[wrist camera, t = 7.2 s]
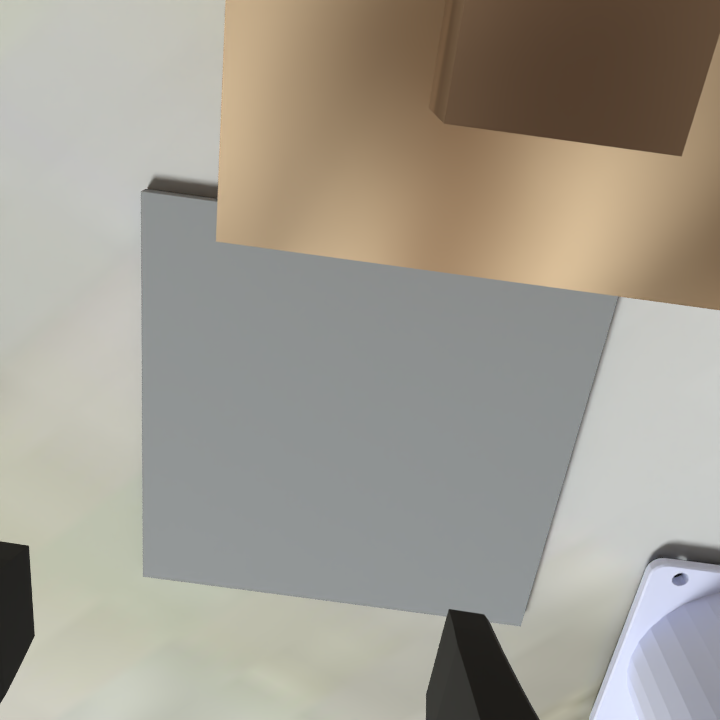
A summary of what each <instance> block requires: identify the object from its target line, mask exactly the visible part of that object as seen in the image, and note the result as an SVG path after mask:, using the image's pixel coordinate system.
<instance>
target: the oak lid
mask: <svg viewBox="0 0 720 720" xmlns="http://www.w3.org/2000/svg"><path fill="white" fill-rule="evenodd" d="M216 242H223V243H230V244H238V245H245V246H252V247H260V248H267V249H274V250H282V251H289V252H296V253H304V254H311V255H318V256H326V257H333V258H340V259H348V260H355V261H363V262H370V263H377V264H385V265H392V266H399V267H407V268H414V269H421V270H429V271H436V272H443V273H451V274H458V275H465V276H473V277H480V278H487V279H495V280H502V281H509V282H517V283H524V284H531V285H539V286H546V287H553V288H561V289H568V290H575V291H583V292H590V293H598V294H605V295H612V296H620V297H627V298H634V299H642V300H649V301H656V302H664V303H671V304H678V305H686V306H693V307H700V308H708V309H715V310H720V0H226V4H225V28H224V53H223V78H222V102H221V127H220V152H219V176H218V201H217V226H216Z"/></svg>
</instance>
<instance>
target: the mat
mask: <svg viewBox="0 0 720 720" xmlns="http://www.w3.org/2000/svg"><path fill="white" fill-rule="evenodd" d="M217 201H218V199H216V198H209V197H202V196H194V195H187V194H180V193H172V192H165V191H158V190H150V189H145V190H143V191H141V287H142V481H143V577H151V578H158V579H166V580H173V581H181V582H189V583H196V584H204V585H211V586H219V587H226V588H234V589H242V590H249V591H257V592H264V593H272V594H279V595H287V596H295V597H302V598H310V599H317V600H325V601H333V602H340V603H348V604H355V605H363V606H370V607H378V608H386V609H393V610H401V611H408V612H416V613H424V614H431V615H439V616H446V617H447V614H448V610H449V609H453V610H459V611H466V612H473V613H479V614H484V615H485V616H486V617H487V619H488V620H489V622H492V623H499V624H507V625H514V626H521V623H522V620H523V616H524V613H525V609H526V606H527V603H528V599H529V596H530V593H531V589H532V586H533V583H534V579H535V576H536V572H537V569H538V566H539V562H540V559H541V556H542V552H543V549H544V545H545V542H546V539H547V535H548V532H549V529H550V525H551V522H552V519H553V515H554V512H555V508H556V505H557V502H558V498H559V495H560V492H561V488H562V485H563V482H564V478H565V475H566V471H567V468H568V465H569V461H570V458H571V455H572V451H573V448H574V445H575V441H576V438H577V434H578V431H579V428H580V424H581V421H582V418H583V414H584V411H585V407H586V404H587V401H588V397H589V394H590V391H591V387H592V384H593V381H594V377H595V374H596V370H597V367H598V364H599V360H600V357H601V354H602V350H603V347H604V344H605V340H606V337H607V333H608V330H609V327H610V323H611V320H612V317H613V313H614V310H615V307H616V303H617V300H618V296H612V295H605V294H598V293H590V292H583V291H575V290H568V289H561V288H553V287H546V286H539V285H531V284H524V283H517V282H509V281H502V280H495V279H487V278H480V277H473V276H465V275H458V274H451V273H443V272H436V271H429V270H421V269H414V268H407V267H399V266H392V265H385V264H377V263H370V262H363V261H355V260H348V259H340V258H333V257H326V256H318V255H311V254H304V253H296V252H289V251H282V250H274V249H267V248H260V247H252V246H245V245H238V244H230V243H223V242H216V226H217Z"/></svg>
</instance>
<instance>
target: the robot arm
mask: <svg viewBox="0 0 720 720" xmlns="http://www.w3.org/2000/svg"><path fill="white" fill-rule="evenodd" d="M678 573H683V574H682V575H681V576H679V577H674V575H676V574H678ZM34 636H35V634H34V619H33V603H32V587H31V572H30V556H29V546H27V545H20V544H14V543H7V542H0V703H1V701H2V700H3V698H4V697H5V695H6V693H7V691H8V689H9V687H10V685H11V683H12V681H13V679H14V677H15V675H16V673H17V671H18V669H19V667H20V665H21V663H22V661H23V659H24V657H25V655H26V653H27V651H28V649H29V647H30V644H31V642H32V640H33V638H34ZM426 720H539V718H538V716H537V714H536V713H535V711H534V709H533V707H532V706H531V704H530V702H529V700H528V698H527V696H526V695H525V693H524V691H523V689H522V687H521V685H520V683H519V681H518V679H517V677H516V675H515V674H514V672H513V670H512V668H511V666H510V664H509V662H508V660H507V658H506V656H505V654H504V652H503V650H502V648H501V645H500V643H499V641H498V639H497V637H496V635H495V633H494V631H493V629H492V626H491V624H490V622H489V620H488V619H487V617H486V616H485V615H484V614H479V613H473V612H466V611H459V610H453V609H449V610H448V614H447V618H446V622H445V625H444V629H443V633H442V637H441V640H440V644H439V648H438V652H437V656H436V659H435V663H434V667H433V671H432V674H431V678H430V682H429V686H428V690H427V693H426ZM589 720H720V565H715V564H707V563H700V562H692V561H685V560H677V559H670V558H659V559H656V560H653V561H652V562H650V563H649V564H648V566H647V567H646V569H645V572H644V575H643V577H642V580H641V583H640V585H639V588H638V591H637V593H636V596H635V598H634V601H633V604H632V606H631V609H630V612H629V614H628V617H627V619H626V622H625V625H624V627H623V630H622V633H621V635H620V638H619V641H618V643H617V646H616V648H615V651H614V654H613V656H612V659H611V662H610V664H609V667H608V669H607V672H606V675H605V677H604V680H603V683H602V685H601V688H600V691H599V693H598V696H597V698H596V701H595V704H594V706H593V709H592V712H591V714H590V717H589Z"/></svg>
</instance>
